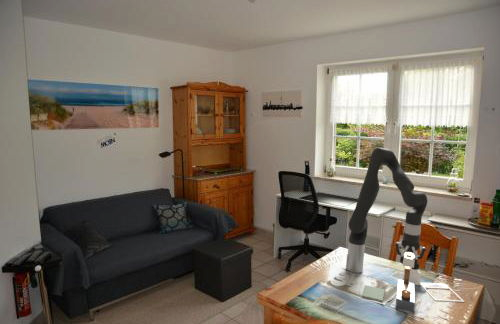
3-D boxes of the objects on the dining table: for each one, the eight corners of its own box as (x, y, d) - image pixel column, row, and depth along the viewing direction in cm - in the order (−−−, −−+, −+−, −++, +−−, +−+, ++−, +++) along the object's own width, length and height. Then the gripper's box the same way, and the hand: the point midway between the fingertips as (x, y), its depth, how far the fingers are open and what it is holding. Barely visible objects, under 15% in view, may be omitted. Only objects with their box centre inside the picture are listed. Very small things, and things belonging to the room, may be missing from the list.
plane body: (413, 312, 164) (416, 286, 162) (395, 308, 167) (398, 282, 165) (413, 291, 183) (416, 268, 181) (397, 287, 187) (399, 265, 185)
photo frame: (445, 283, 192) (464, 300, 174) (445, 285, 192) (464, 303, 174) (419, 282, 192) (434, 299, 175) (418, 283, 193) (434, 301, 175)
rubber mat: (361, 296, 176) (362, 295, 176) (364, 286, 187) (364, 284, 187) (382, 301, 172) (382, 300, 172) (384, 290, 183) (384, 289, 183)
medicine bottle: (415, 279, 197) (417, 259, 195) (420, 285, 190) (422, 265, 188) (402, 278, 198) (404, 258, 196) (407, 284, 191) (409, 264, 189)
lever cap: (413, 267, 169) (414, 258, 168) (402, 265, 171) (403, 256, 170) (413, 261, 176) (414, 252, 175) (403, 259, 178) (404, 250, 177)
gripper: (396, 231, 170) (392, 264, 173) (428, 237, 164) (424, 270, 167) (396, 227, 177) (393, 258, 180) (427, 232, 171) (423, 264, 174)
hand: (408, 264), depth 173 cm, fingers closed on lever cap, 5 cm apart
